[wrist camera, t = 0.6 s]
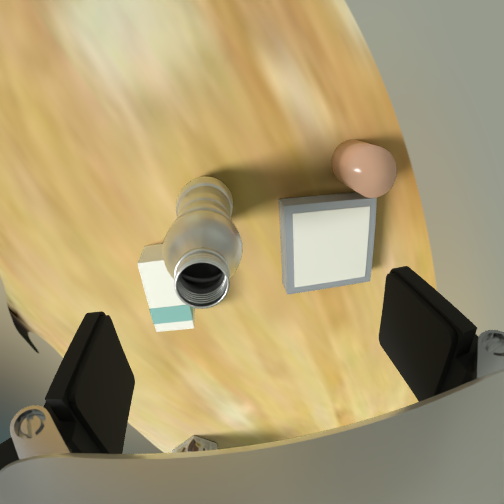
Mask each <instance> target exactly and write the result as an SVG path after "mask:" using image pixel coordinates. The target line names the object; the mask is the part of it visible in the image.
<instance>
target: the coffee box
mask: <svg viewBox="0 0 504 504" xmlns="http://www.w3.org/2000/svg"><path fill="white" fill-rule="evenodd" d="M207 450H217V443H214V442H211V441H209V440H206V439H203V438H200V437H197V436H192V437H191V438H189V439H188V440H187V441H185V442H184V443H182V444H181V445H179V446H178V447H176V448H175V449H174V450H172V453H181V452H195V451H207Z"/></svg>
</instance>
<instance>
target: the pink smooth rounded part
mask: <svg viewBox="0 0 504 504" xmlns="http://www.w3.org/2000/svg"><path fill="white" fill-rule="evenodd" d="M332 170H333V173H334V175H335V176H336V178H337V179H338V180H339V181H340V182H342V183H344V184H345V185H347V186H348V187H350V188H352V189H353V190H355V191H356V192H358V193H359V194H361V195H363V196H365V197H368V198H377V197H380V196H382V195H384V194H386V193H387V192H388V191H389V190H390V189H391V187H392V186H393V184H394V182H395V179H396V175H397V166H396V162H395V159H394V157H393V156H392V154H391V153H390V152H389V151H388V150H386V149H385V148H382V147H380V146H376V145H373V144H369V143H366V142H362V141H359V140H348V141H345V142H343V143H342V144H340V145H339V146H338V147H337V148H336V150H335V152H334V154H333V157H332Z"/></svg>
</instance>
